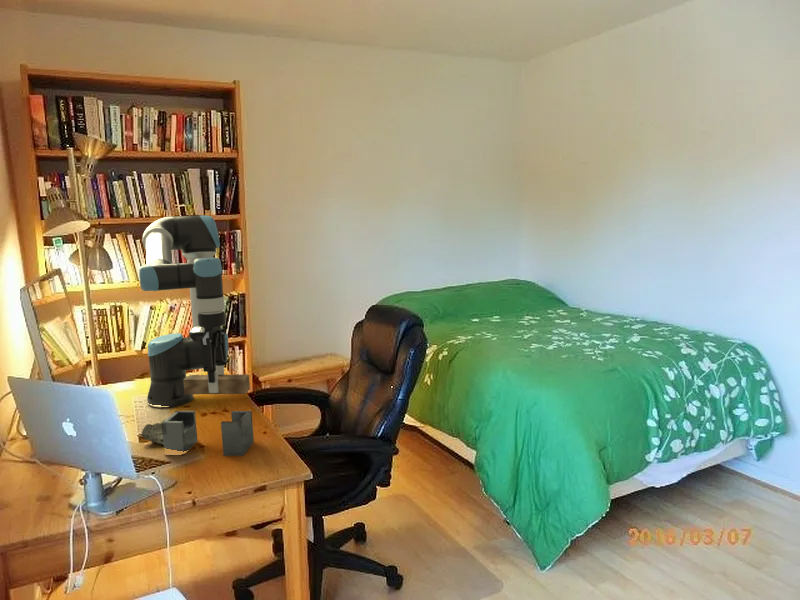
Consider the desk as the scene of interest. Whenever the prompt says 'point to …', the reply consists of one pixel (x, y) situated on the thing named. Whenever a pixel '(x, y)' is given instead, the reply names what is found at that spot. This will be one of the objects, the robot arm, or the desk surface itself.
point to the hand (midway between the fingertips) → (217, 389)
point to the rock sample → (153, 433)
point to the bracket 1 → (180, 431)
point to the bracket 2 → (237, 433)
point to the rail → (225, 382)
